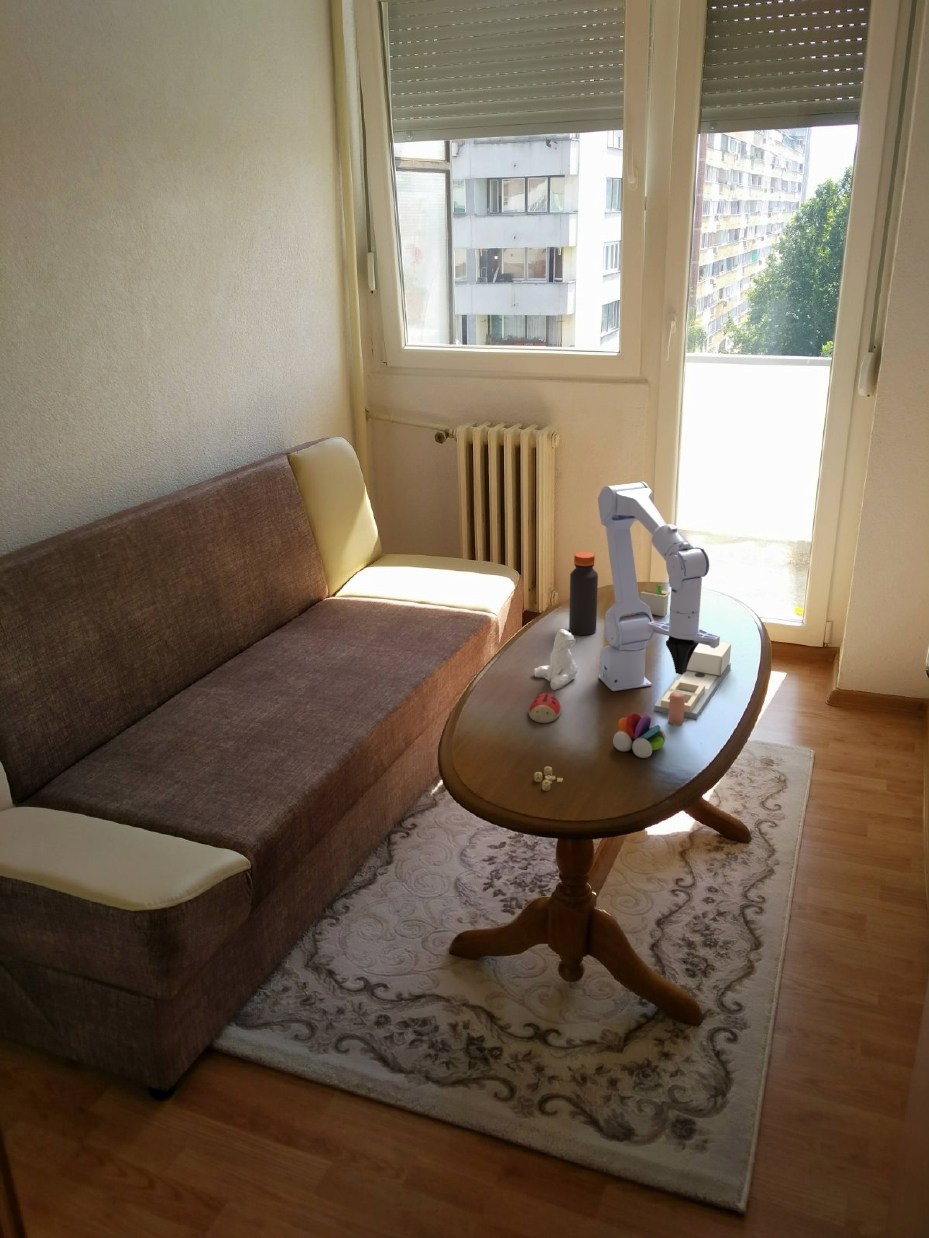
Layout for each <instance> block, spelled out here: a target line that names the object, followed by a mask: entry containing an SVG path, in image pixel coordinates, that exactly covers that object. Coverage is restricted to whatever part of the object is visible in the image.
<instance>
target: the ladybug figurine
mask: <svg viewBox="0 0 929 1238" xmlns="http://www.w3.org/2000/svg"><path fill="white" fill-rule="evenodd" d="M561 713H562V707H561V704H560V702H559V700H558V698H556V696H555V695H553V694H552V693H548V692H544V693H540V694H539V695H538V696H535V698H534V699H533V700H532V702H531V703H530V705H529V707H528V715H529V717H530V719H532V721H534V722H536V723H538V724H548V723H551V722H553V721H555V720H557V719H558V718H559V717H560V715H561Z"/></svg>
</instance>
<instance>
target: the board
mask: <svg viewBox="0 0 929 1238" xmlns="http://www.w3.org/2000/svg"><path fill="white" fill-rule="evenodd" d="M731 664H732V663H729V664H728V665H727V667H726V668H725V670H724V671H723V673H722V674H721V676H719V675H714V674H708V673H702V672H697V671H691V670H686V672H685V673H683V674H682V675H681V674H677V675H676V676H675V678H674V679H673V680H672V682H671V683H669V686H668V687H667V688H666V689H665V691H664V692H663V693H662V694H661V696H660V697H659V699H658V700H657V701H656V702H655V704H654V705H653V711H655V712H659V713H664V714H669V703H670V694H671V693H673V692H680V693H683V694H685V706H684V718H691V719H693V720H694V719H695V720H697V719H698V717H699V716H700V715H701V713H702V712H703V710H704V708H705V707H706V706H707V704H708V702H709V701H710V699H711V698H712V696H713V695H714V693H715V692H716V690H717V689H718V688H719V686H720V685H721V683H722V681H724V679H725V677H726V675H727V674H728V672H729V671H730V669H731V667H732V665H731Z"/></svg>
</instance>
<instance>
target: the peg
mask: <svg viewBox="0 0 929 1238" xmlns="http://www.w3.org/2000/svg"><path fill="white" fill-rule="evenodd" d="M684 706H685V694H683V693H680V692H673V693H671V694H670V703H669V713H668V717H667V718H668V721H667V722H668V723H669V724H671V725H672V726H681V725H683V724H684V718H685V717H684Z"/></svg>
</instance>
